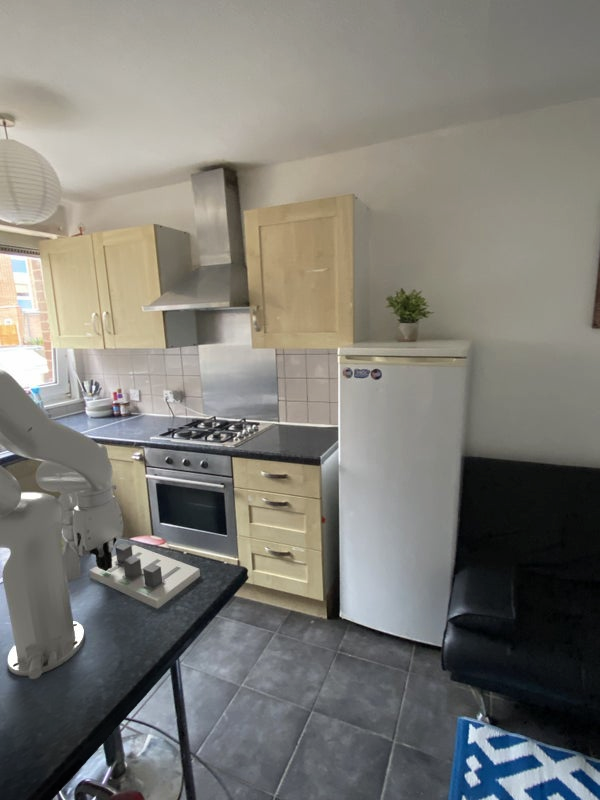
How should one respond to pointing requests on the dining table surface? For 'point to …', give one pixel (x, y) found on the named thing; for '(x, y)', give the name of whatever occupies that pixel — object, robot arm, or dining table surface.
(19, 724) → the dining table surface
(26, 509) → the robot arm
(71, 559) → the white printed box
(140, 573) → the block
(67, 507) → the plastic bottle
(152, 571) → the breaker near
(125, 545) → the block
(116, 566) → the panel
